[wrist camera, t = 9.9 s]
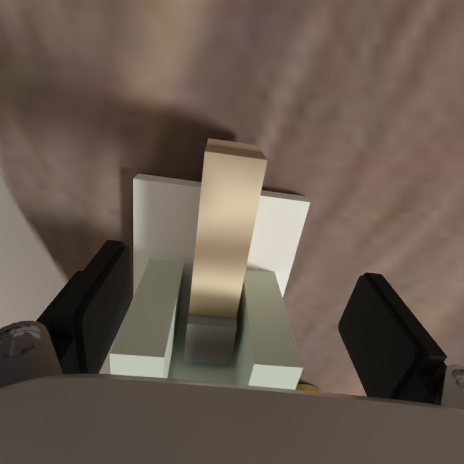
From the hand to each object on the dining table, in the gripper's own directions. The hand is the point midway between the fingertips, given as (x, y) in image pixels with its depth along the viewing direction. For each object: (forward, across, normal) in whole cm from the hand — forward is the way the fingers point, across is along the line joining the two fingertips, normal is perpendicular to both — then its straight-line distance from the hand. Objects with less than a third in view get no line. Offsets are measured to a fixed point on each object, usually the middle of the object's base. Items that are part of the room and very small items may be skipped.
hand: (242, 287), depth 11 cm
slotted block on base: (+13, +1, +8) cm, 16 cm away
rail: (+12, +1, +4) cm, 13 cm away
